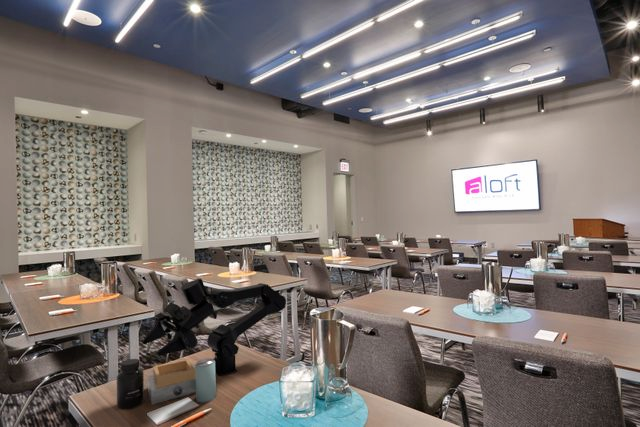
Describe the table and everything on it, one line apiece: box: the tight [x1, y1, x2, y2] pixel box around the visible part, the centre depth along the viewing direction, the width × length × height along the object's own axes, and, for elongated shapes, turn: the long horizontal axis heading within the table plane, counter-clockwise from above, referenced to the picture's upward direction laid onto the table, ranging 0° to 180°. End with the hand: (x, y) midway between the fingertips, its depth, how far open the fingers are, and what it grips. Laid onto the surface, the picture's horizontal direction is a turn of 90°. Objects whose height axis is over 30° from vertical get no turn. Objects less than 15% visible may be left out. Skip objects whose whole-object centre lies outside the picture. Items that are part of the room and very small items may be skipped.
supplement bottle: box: [116, 358, 145, 410], centre depth 101 cm, size 7×7×12 cm
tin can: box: [194, 357, 217, 403], centre depth 103 cm, size 6×6×10 cm
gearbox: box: [146, 358, 196, 405], centre depth 109 cm, size 14×13×6 cm
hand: (150, 348), depth 103 cm, fingers open, 9 cm apart
